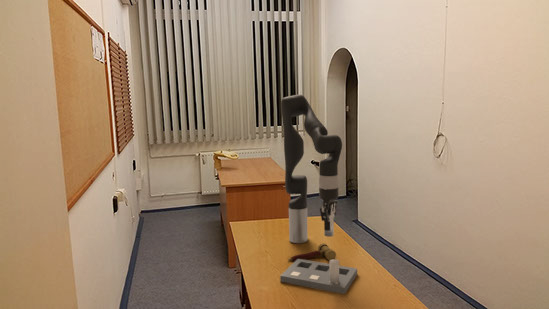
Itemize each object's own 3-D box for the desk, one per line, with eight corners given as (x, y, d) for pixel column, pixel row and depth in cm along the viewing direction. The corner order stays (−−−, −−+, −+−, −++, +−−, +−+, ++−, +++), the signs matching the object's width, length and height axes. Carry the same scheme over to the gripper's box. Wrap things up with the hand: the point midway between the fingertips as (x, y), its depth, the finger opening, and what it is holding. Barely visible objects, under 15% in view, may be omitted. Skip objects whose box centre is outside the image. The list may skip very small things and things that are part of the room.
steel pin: (326, 233, 164) (326, 209, 163) (334, 234, 162) (334, 210, 161) (323, 235, 161) (322, 211, 159) (331, 237, 159) (331, 212, 158)
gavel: (291, 259, 174) (284, 251, 184) (292, 269, 175) (285, 260, 184) (335, 249, 180) (326, 242, 189) (336, 259, 181) (327, 251, 190)
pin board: (298, 264, 176) (297, 241, 175) (357, 274, 165) (357, 249, 163) (280, 281, 160) (279, 256, 159) (344, 294, 149) (344, 267, 147)
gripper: (326, 182, 167) (326, 222, 169) (312, 189, 154) (313, 232, 157) (343, 183, 163) (343, 225, 165) (331, 190, 151) (332, 235, 153)
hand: (329, 228), depth 161 cm, fingers closed on steel pin, 3 cm apart
